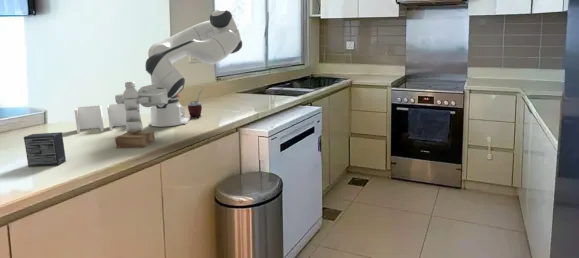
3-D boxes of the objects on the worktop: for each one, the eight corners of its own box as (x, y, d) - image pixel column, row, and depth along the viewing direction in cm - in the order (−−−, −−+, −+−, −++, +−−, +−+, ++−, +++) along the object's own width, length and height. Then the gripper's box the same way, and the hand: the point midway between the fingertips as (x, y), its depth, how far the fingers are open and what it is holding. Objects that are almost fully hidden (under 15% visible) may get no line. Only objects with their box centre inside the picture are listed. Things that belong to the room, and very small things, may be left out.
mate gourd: (186, 117, 250) (184, 88, 248) (200, 115, 255) (197, 87, 252) (192, 118, 245) (190, 89, 242) (206, 116, 249) (204, 88, 246)
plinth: (129, 141, 195) (128, 131, 194) (154, 141, 194) (153, 131, 193) (116, 147, 185) (114, 137, 184) (143, 147, 183) (141, 136, 182)
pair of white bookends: (134, 124, 236) (131, 102, 234) (134, 128, 226) (132, 105, 224) (79, 129, 229) (76, 107, 227) (77, 133, 219) (74, 110, 216)
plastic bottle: (125, 135, 184) (120, 83, 180) (126, 132, 190) (121, 82, 187) (143, 133, 186) (138, 82, 182) (143, 130, 192) (138, 81, 189)
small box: (67, 160, 168) (63, 131, 166) (59, 165, 161) (54, 135, 159) (36, 162, 168) (32, 133, 166) (27, 167, 161) (22, 136, 159)
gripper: (125, 89, 200) (105, 93, 187) (169, 88, 195) (152, 92, 182) (127, 104, 201) (107, 109, 188) (171, 103, 196) (154, 109, 183)
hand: (130, 101), depth 185 cm, fingers closed on plastic bottle, 6 cm apart
